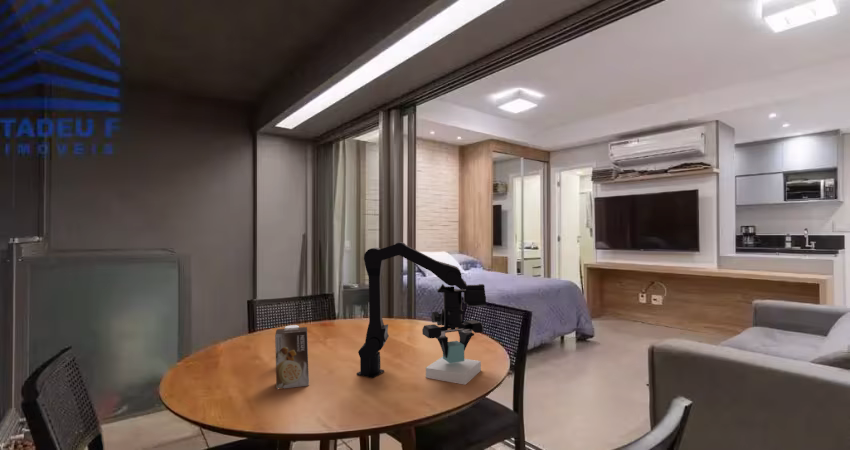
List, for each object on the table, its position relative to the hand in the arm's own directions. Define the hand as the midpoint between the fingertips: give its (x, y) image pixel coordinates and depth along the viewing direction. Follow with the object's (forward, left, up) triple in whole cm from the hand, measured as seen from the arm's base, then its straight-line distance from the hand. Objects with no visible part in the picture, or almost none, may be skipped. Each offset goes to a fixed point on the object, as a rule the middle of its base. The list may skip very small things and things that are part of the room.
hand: (453, 356), depth 123 cm
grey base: (0, 0, -6) cm, 6 cm away
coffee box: (-28, +40, -6) cm, 49 cm away
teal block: (0, 0, -1) cm, 1 cm away
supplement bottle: (-15, +54, -6) cm, 56 cm away
